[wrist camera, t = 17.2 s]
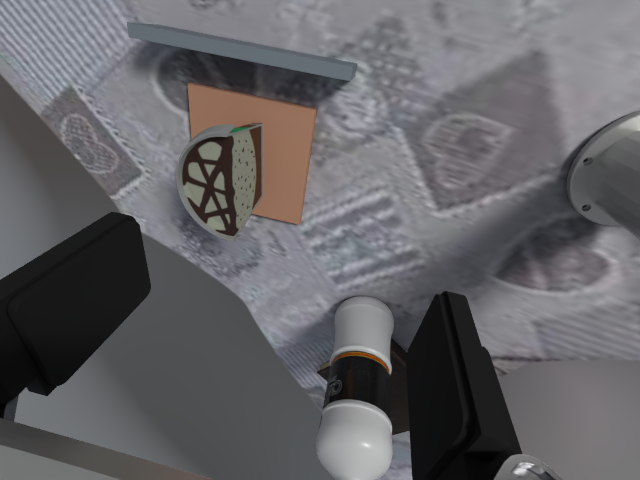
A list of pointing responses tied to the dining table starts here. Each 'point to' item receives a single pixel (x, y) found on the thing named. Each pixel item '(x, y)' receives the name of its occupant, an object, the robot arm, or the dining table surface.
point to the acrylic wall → (243, 50)
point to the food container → (222, 177)
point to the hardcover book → (392, 388)
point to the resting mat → (264, 142)
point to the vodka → (358, 393)
